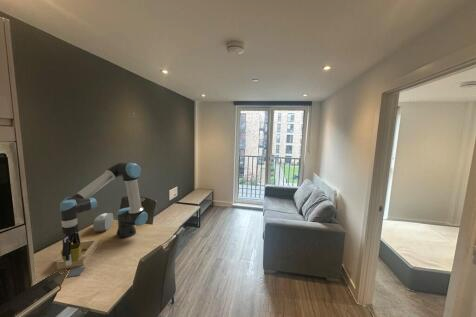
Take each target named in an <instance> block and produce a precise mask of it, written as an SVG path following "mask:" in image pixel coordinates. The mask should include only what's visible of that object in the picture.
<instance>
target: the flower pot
mask: <svg viewBox="0 0 476 317" xmlns="http://www.w3.org/2000/svg"><path fill="white" fill-rule="evenodd" d="M82 251H83V250H82V242H80V243H75V244H71V251H70V254H71V260H72V262H75V261H78V258H79V257H80V256H81V254H82ZM62 253H63V248H62V249H61V250H60V254H61V255H62ZM62 258H63V260H64V262H66V261H65V256H62Z"/></svg>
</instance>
